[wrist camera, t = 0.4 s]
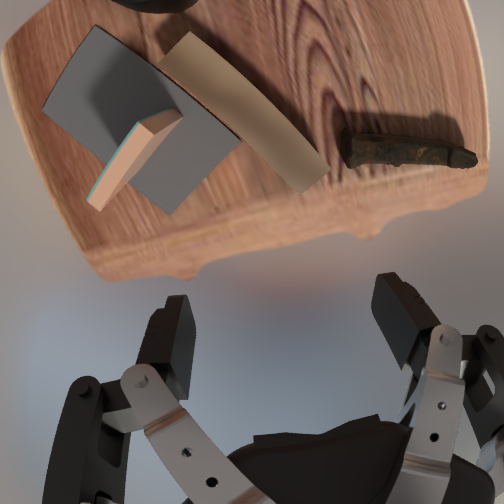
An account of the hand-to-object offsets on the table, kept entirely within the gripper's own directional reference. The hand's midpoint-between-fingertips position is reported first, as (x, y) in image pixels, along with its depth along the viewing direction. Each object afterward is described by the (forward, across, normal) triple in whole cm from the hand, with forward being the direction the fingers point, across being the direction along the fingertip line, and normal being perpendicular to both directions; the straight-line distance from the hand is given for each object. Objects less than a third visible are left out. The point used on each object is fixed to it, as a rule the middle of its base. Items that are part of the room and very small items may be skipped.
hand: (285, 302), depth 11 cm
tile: (+21, +10, -6) cm, 24 cm away
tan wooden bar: (+21, 0, -8) cm, 22 cm away
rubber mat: (+21, +13, -9) cm, 26 cm away
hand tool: (+21, -19, -4) cm, 28 cm away
